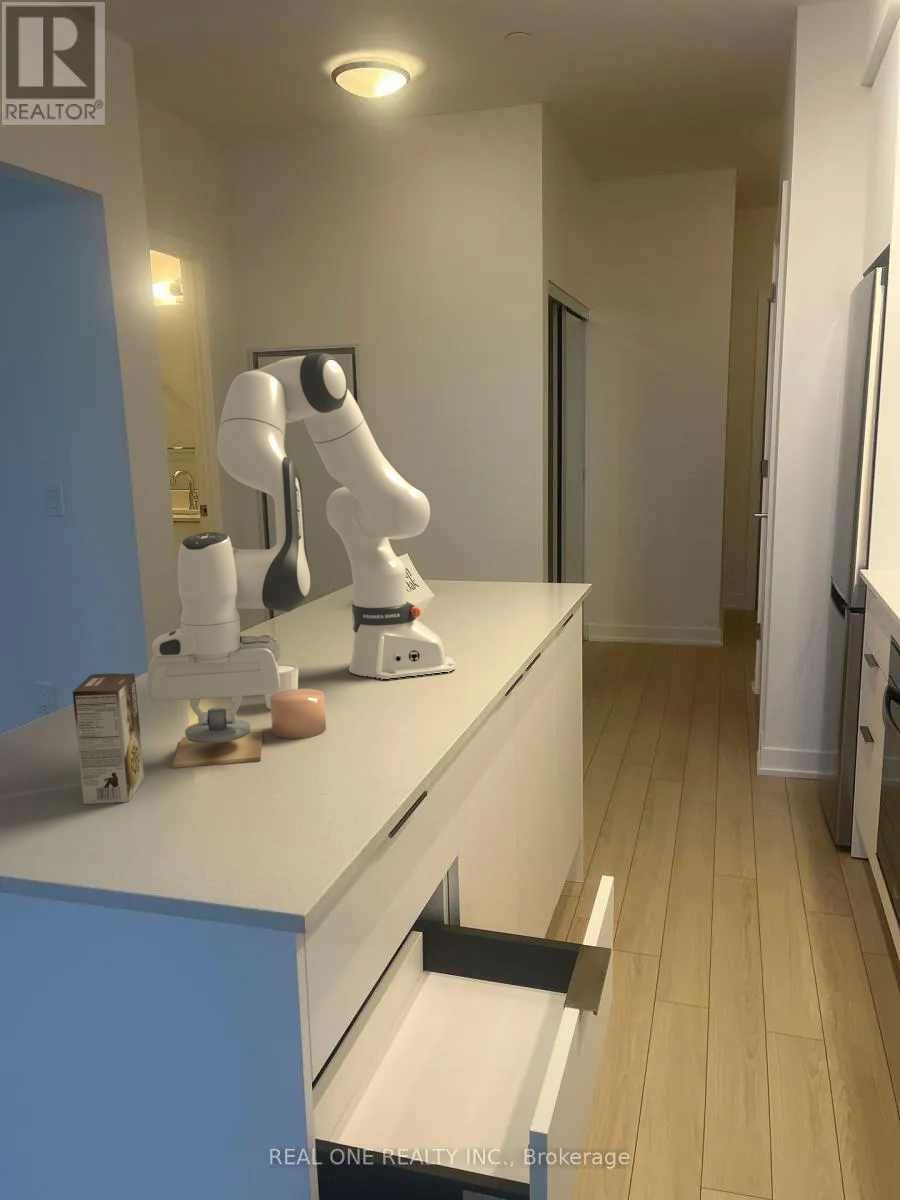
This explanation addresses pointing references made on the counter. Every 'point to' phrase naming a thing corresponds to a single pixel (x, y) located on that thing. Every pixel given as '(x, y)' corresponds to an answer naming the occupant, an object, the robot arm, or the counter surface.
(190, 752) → the mat
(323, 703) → the canister
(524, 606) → the counter surface
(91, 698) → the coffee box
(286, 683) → the white cup
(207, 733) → the lid
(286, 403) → the robot arm
